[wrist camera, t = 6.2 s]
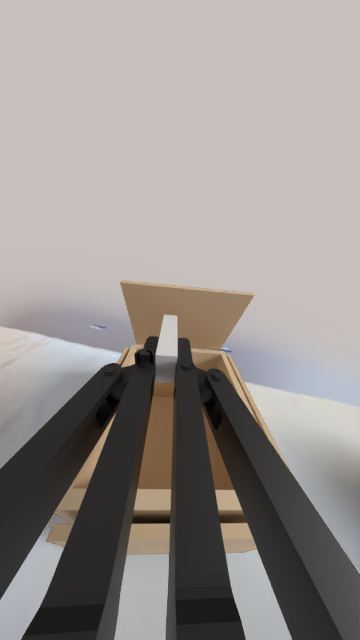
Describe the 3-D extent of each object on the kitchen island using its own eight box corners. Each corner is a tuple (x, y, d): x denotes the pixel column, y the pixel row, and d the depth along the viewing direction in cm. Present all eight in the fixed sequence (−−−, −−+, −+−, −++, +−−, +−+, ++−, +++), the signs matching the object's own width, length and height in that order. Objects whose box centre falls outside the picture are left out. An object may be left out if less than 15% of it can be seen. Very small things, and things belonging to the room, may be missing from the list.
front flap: (219, 347, 24) (252, 292, 15) (219, 349, 23) (254, 295, 15) (137, 341, 23) (121, 279, 14) (136, 344, 22) (120, 282, 14)
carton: (213, 396, 29) (229, 351, 23) (252, 553, 14) (326, 537, 8) (131, 392, 28) (126, 344, 22) (76, 556, 13) (14, 541, 7)
